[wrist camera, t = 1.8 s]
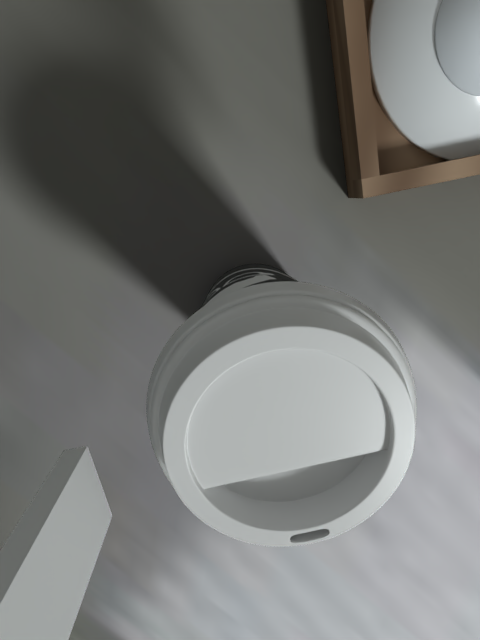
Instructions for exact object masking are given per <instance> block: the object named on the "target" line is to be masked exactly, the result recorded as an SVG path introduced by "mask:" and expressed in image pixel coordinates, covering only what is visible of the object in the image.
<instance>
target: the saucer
mask: <svg viewBox="0 0 480 640" xmlns="http://www.w3.org/2000/svg"><path fill="white" fill-rule="evenodd" d="M367 40H368V51H369V62H370V73H371V80H372V84H373V88H374V91H375V94H376V96H377V99H378V101H379V103H380V106H381V108H382V109H383V111H384V113H385V115H386V116H387V118H388V120H389V121H390V122H391V124H392V125H393V126H394V127H395V129H396V130H397V131H398V132H399V133H400V134H401V135H402V136H403V137H404V138H405V139H406V140H407V141H408V142H409V143H411V144H412V145H414V146H415V147H417V148H418V149H420V150H421V151H423V152H425V153H427V154H429V155H431V156H433V157H437V158H440V159H443V160H446V161H448V160H454V159H459V158H464V157H469V156H474V155H478V154H480V0H372V4H371V9H370V14H369V20H368V31H367Z"/></svg>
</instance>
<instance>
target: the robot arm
mask: <svg viewBox="0 0 480 640" xmlns="http://www.w3.org/2000/svg"><path fill="white" fill-rule="evenodd" d="M111 518H112V513H111V510H110V508H109V505H108V502H107V499H106V496H105V494H104V491H103V488H102V485H101V482H100V480H99V477H98V474H97V471H96V468H95V466H94V463H93V460H92V457H91V455H90V452H89V449H88V446H84V447H79V448H74V449H69V450H64V451H63V453H62V454H61V456H60V457H59V459H58V461H57V462H56V464H55V465H54V467H53V468H52V470H51V472H50V473H49V475H48V476H47V478H46V479H45V481H44V483H43V484H42V486H41V487H40V489H39V490H38V492H37V494H36V495H35V497H34V498H33V500H32V501H31V503H30V505H29V506H28V508H27V509H26V511H25V513H24V514H23V516H22V517H21V519H20V520H19V522H18V524H17V525H16V527H15V528H14V530H13V531H12V533H11V535H10V536H9V538H8V539H7V541H6V542H5V544H4V546H3V547H2V549H1V550H0V640H68V639H69V636H70V633H71V631H72V628H73V625H74V622H75V619H76V617H77V614H78V611H79V608H80V605H81V602H82V600H83V597H84V594H85V591H86V588H87V586H88V583H89V580H90V577H91V574H92V572H93V569H94V566H95V563H96V560H97V557H98V555H99V552H100V549H101V546H102V543H103V541H104V538H105V535H106V532H107V529H108V526H109V524H110V521H111Z"/></svg>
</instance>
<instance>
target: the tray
mask: <svg viewBox="0 0 480 640" xmlns="http://www.w3.org/2000/svg"><path fill="white" fill-rule="evenodd" d="M371 4H372V0H326V6H327V14H328V23H329V32H330V41H331V49H332V58H333V67H334V76H335V85H336V93H337V102H338V111H339V120H340V128H341V137H342V146H343V155H344V164H345V172H346V181H347V190H348V198H367V197H372V196H377V195H382V194H387V193H392V192H396V191H401V190H406V189H411V188H416V187H421V186H426V185H430V184H435V183H440V182H445V181H450V180H455V179H459V178H464V177H469V176H474V175H479V174H480V154H478V155H474V156H469V157H464V158H459V159H454V160H448V161H446V160H443V159H440V158H437V157H433V156H431V155H429V154H427V153H425V152H423V151H421V150H420V149H418V148H417V147H415V146H414V145H412V144H411V143H409V142H408V141H407V140H406V139H405V138H404V137H403V136H402V135H401V134H400V133H399V132H398V131H397V130H396V129H395V127H394V126H393V125H392V124H391V122H390V121H389V120H388V118H387V116H386V115H385V113H384V111H383V109H382V108H381V106H380V103H379V101H378V99H377V96H376V94H375V91H374V88H373V84H372V80H371V73H370V62H369V51H368V40H367V31H368V20H369V14H370V9H371Z"/></svg>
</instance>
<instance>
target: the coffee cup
mask: <svg viewBox="0 0 480 640" xmlns="http://www.w3.org/2000/svg"><path fill="white" fill-rule="evenodd" d="M146 412H147V423H148V430H149V435H150V440H151V444H152V447H153V450H154V453H155V455H156V458H157V460H158V462H159V464H160V466H161V468H162V470H163V472H164V474H165V475H166V477H167V479H168V480H169V482H170V483H171V484H172V486H173V487H174V489H175V491H176V493H177V494H178V496H179V497H180V499H181V500H182V502H183V503H184V504H185V505H186V506H187V508H188V509H189V510H190V511H191V512H192V513H193V514H194V515H195V516H196V517H198V518H199V519H200V520H201V521H203V522H204V523H205V524H207V525H208V526H210V527H211V528H213V529H214V530H216V531H218V532H220V533H222V534H224V535H226V536H228V537H231V538H234V539H236V540H239V541H243V542H246V543H250V544H255V545H261V546H270V547H292V546H301V545H307V544H312V543H317V542H321V541H324V540H327V539H330V538H333V537H335V536H338V535H340V534H342V533H345V532H347V531H349V530H350V529H352V528H354V527H356V526H357V525H359V524H361V523H362V522H364V521H365V520H366V519H368V518H369V517H370V516H372V515H373V514H374V513H375V512H376V511H377V510H379V509H380V508H381V507H382V506H383V505H384V504H385V503H386V501H387V500H388V499H389V498H390V497H391V496H392V494H393V493H394V492H395V490H396V489H397V487H398V486H399V484H400V483H401V481H402V479H403V477H404V475H405V473H406V471H407V469H408V466H409V464H410V461H411V458H412V454H413V450H414V444H415V435H416V415H417V402H416V390H415V383H414V378H413V374H412V371H411V368H410V365H409V362H408V360H407V357H406V355H405V353H404V350H403V348H402V346H401V344H400V343H399V341H398V339H397V338H396V336H395V335H394V333H393V332H392V330H391V329H390V328H389V327H388V325H387V324H386V323H385V322H384V321H383V320H382V319H381V318H380V317H379V316H378V315H377V314H376V313H375V312H373V311H372V310H371V309H370V308H368V307H367V306H366V305H364V304H363V303H361V302H360V301H358V300H356V299H354V298H353V297H351V296H349V295H347V294H344V293H342V292H340V291H337V290H335V289H332V288H329V287H325V286H321V285H317V284H312V283H305V282H298V281H297V280H295V279H293V278H292V277H290V276H288V275H287V274H285V273H284V272H282V271H280V270H278V269H276V268H274V267H271V266H268V265H263V264H247V265H242V266H239V267H236V268H234V269H232V270H230V271H228V272H227V273H225V274H224V275H223V276H221V277H220V278H219V279H218V280H217V281H216V283H215V284H214V285H213V287H212V288H211V290H210V292H209V294H208V296H207V297H206V299H205V301H204V303H203V305H202V307H201V309H199V310H198V311H197V312H195V313H194V314H193V315H192V316H191V317H189V318H188V319H187V320H186V321H185V322H184V323H183V324H182V325H181V326H180V327H179V328H178V329H177V330H176V332H175V333H174V334H173V335H172V336H171V338H170V339H169V341H168V342H167V343H166V345H165V347H164V348H163V350H162V352H161V353H160V355H159V357H158V359H157V361H156V364H155V366H154V369H153V372H152V375H151V378H150V382H149V386H148V392H147V404H146Z"/></svg>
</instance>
